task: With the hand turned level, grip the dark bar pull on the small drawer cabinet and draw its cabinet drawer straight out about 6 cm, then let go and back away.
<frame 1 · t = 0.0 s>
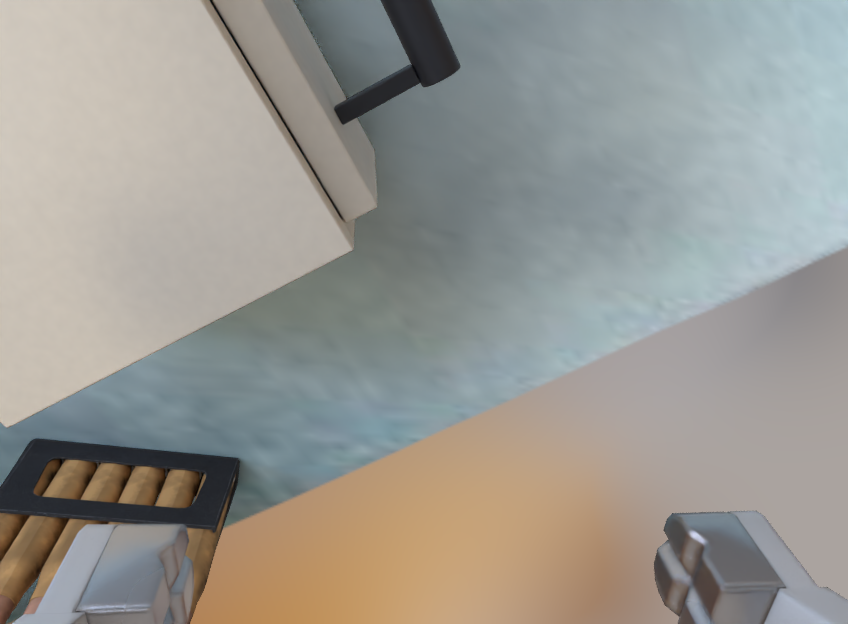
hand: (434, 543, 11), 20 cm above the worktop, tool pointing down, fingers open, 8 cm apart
ammunition clip: (139, 459, 34), on the worktop
small drawer cabinet: (148, 126, 26), on the worktop
cabinet drawer: (199, 99, 22), point 5 cm above the worktop, slide at 0.0 cm, touching small drawer cabinet
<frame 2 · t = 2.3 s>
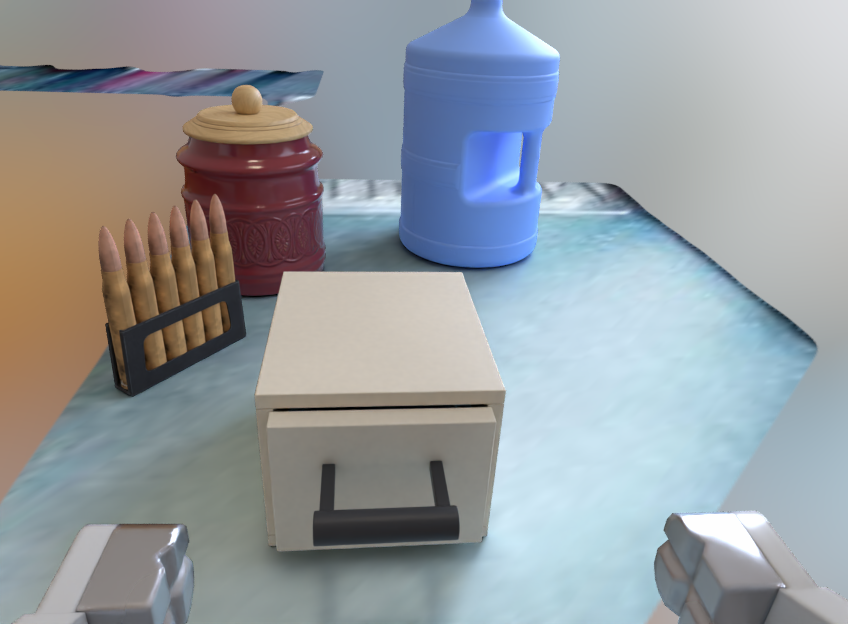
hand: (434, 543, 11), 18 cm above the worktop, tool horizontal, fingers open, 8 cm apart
water jug: (466, 244, 72), on the worktop
ammunition clip: (186, 362, 48), on the worktop
small drawer cabinet: (375, 456, 39), on the worktop
kitchen canister: (260, 272, 63), on the worktop
cabinet drawer: (379, 435, 34), point 5 cm above the worktop, slide at 0.0 cm, touching small drawer cabinet
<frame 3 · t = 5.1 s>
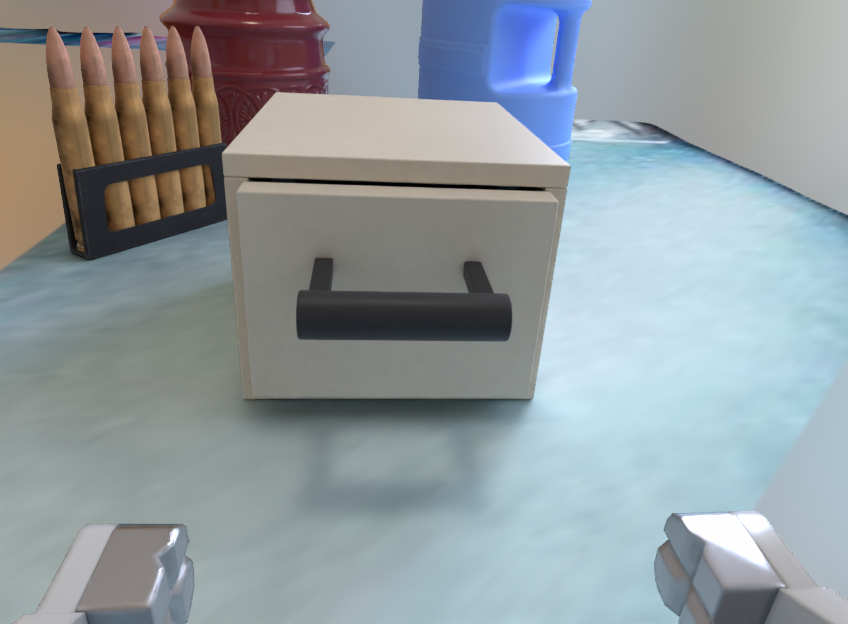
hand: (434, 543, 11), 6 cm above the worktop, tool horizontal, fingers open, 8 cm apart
water jug: (489, 159, 64), on the worktop
ammunition clip: (160, 235, 40), on the worktop
small drawer cabinet: (386, 320, 31), on the worktop
kitchen canister: (256, 170, 55), on the worktop
cabinet drawer: (392, 260, 26), point 5 cm above the worktop, slide at 0.0 cm, touching small drawer cabinet
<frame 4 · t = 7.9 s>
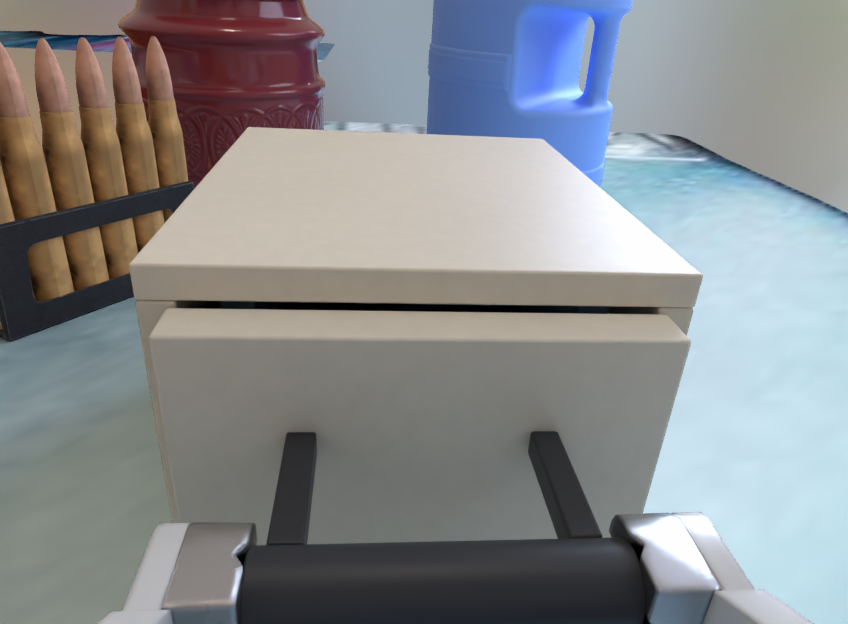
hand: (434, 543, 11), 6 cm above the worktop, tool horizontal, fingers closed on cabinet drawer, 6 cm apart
water jug: (509, 183, 56), on the worktop
ammunition clip: (110, 298, 32), on the worktop
small drawer cabinet: (397, 438, 23), on the worktop
kitchen canister: (239, 202, 47), on the worktop
cabinet drawer: (409, 388, 17), point 5 cm above the worktop, slide at 0.0 cm, touching gripper
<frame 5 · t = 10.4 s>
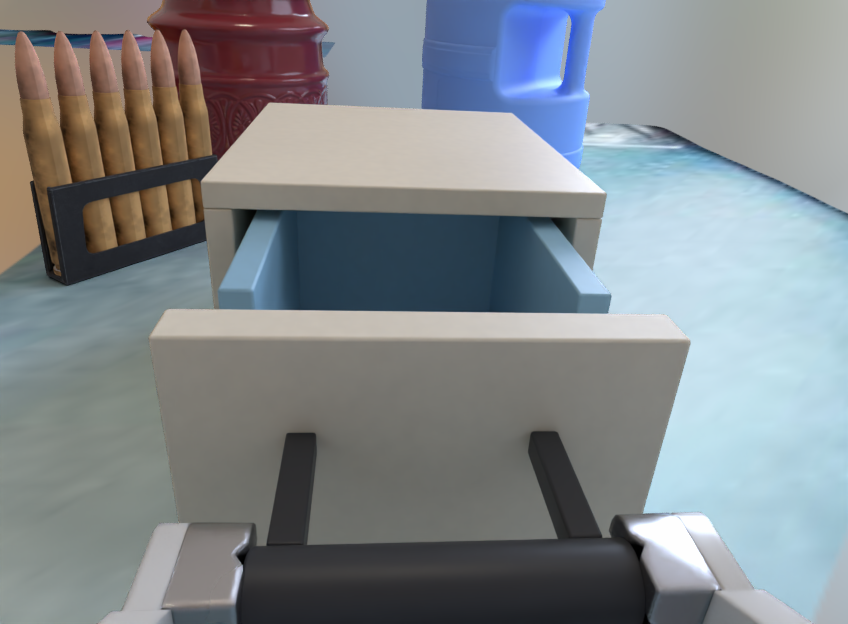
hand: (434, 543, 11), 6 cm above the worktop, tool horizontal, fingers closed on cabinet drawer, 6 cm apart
water jug: (497, 166, 61), on the worktop
ammunition clip: (146, 255, 37), on the worktop
small drawer cabinet: (391, 354, 28), on the worktop
kitchen canister: (252, 181, 52), on the worktop
cabinet drawer: (409, 388, 17), point 5 cm above the worktop, slide at 5.9 cm, touching gripper
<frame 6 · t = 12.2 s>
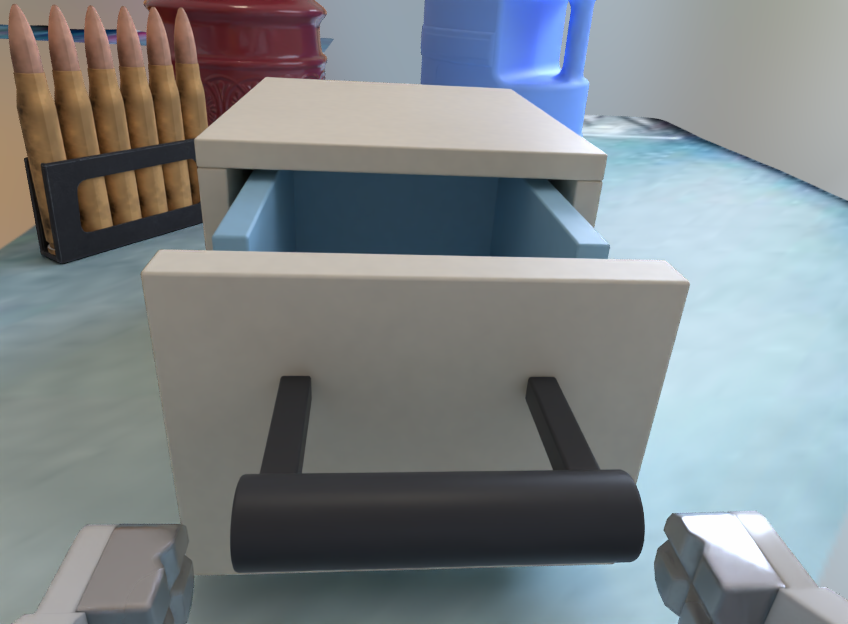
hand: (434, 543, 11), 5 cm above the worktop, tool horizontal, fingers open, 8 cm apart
water jug: (496, 155, 61), on the worktop
ammunition clip: (142, 236, 37), on the worktop
small drawer cabinet: (389, 331, 28), on the worktop
kitchen canister: (249, 167, 52), on the worktop
cabinet drawer: (406, 347, 17), point 5 cm above the worktop, slide at 5.8 cm
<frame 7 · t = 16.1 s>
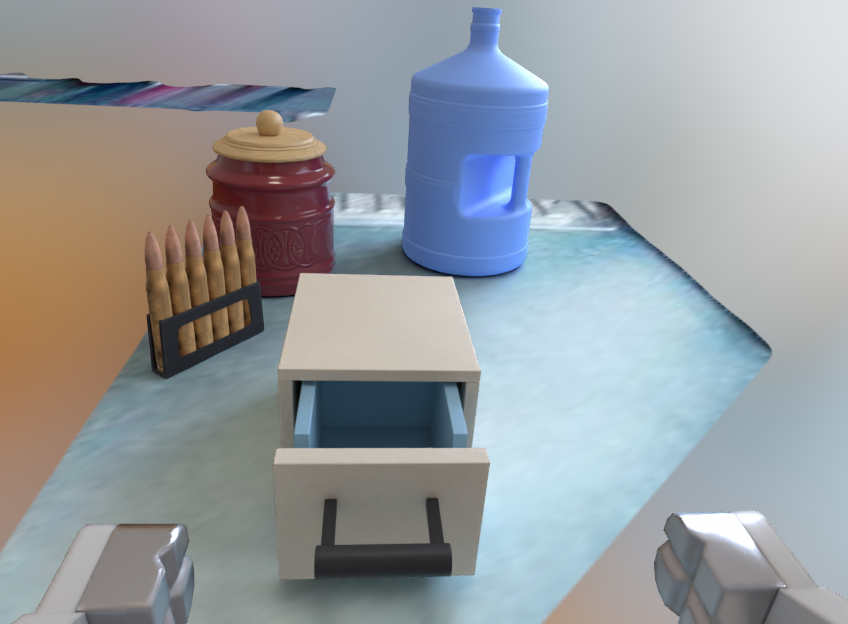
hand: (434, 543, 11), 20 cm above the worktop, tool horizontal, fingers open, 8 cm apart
water jug: (463, 255, 79), on the worktop
ammunition clip: (212, 351, 55), on the worktop
small drawer cabinet: (374, 431, 46), on the worktop
kitchen canister: (276, 275, 70), on the worktop
cabinet drawer: (379, 469, 35), point 5 cm above the worktop, slide at 5.8 cm
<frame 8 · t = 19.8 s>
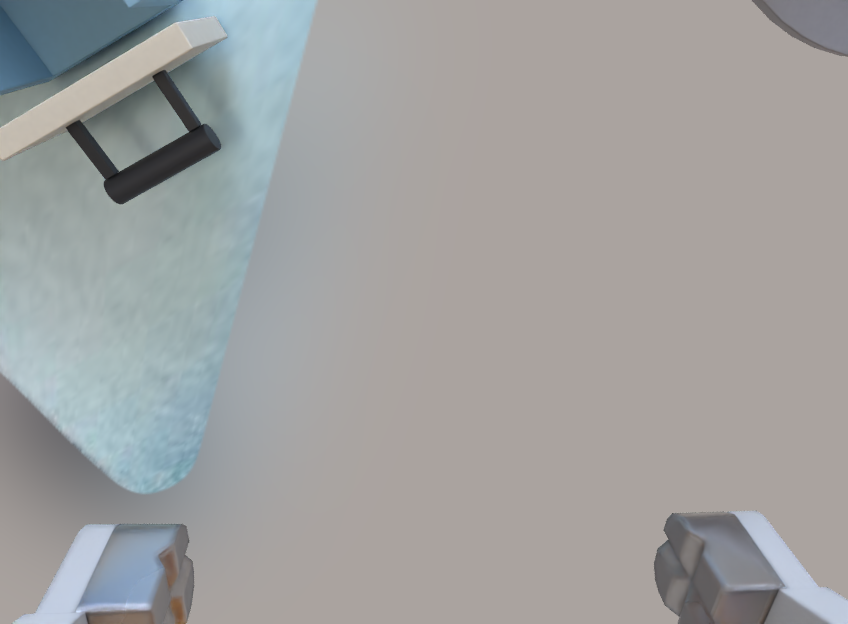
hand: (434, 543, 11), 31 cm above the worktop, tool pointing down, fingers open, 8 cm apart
cabinet drawer: (67, 12, 30), point 5 cm above the worktop, slide at 5.8 cm
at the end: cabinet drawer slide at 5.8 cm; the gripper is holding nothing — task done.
